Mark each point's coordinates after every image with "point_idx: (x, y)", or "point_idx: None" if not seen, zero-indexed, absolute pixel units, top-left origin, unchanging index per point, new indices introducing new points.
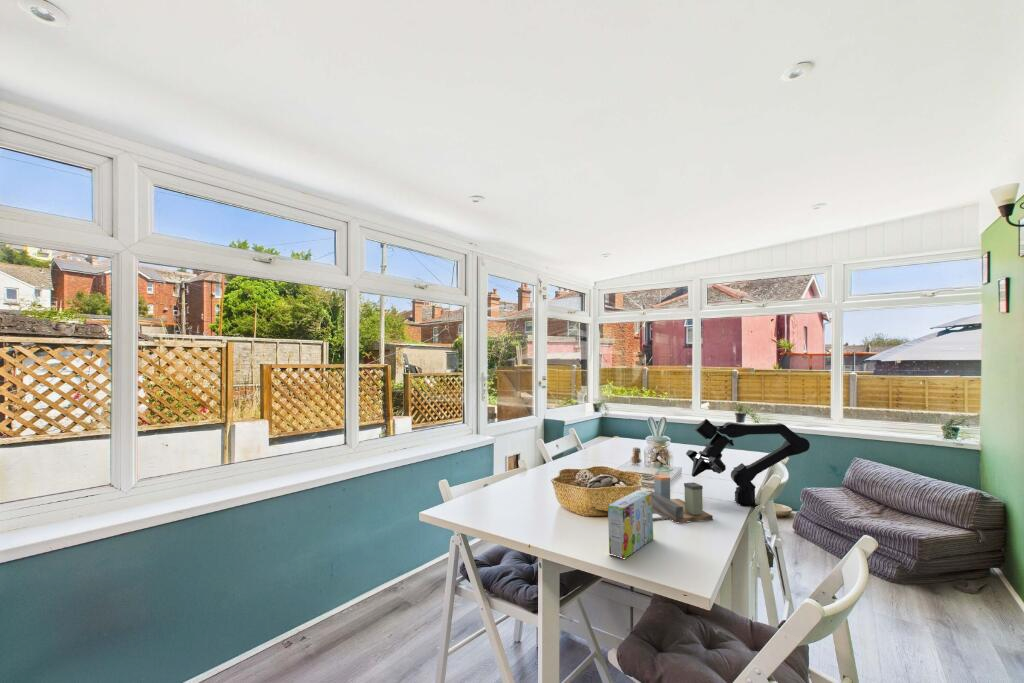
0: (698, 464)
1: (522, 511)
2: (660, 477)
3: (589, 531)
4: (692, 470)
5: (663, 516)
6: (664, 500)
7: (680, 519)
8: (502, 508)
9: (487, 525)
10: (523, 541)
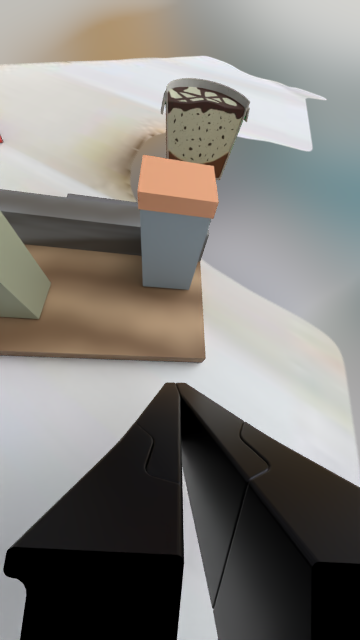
0: (111, 465)
1: None
2: (158, 161)
3: (74, 110)
4: (205, 398)
5: None
6: (76, 203)
7: None
8: None
9: (155, 65)
10: (81, 63)
